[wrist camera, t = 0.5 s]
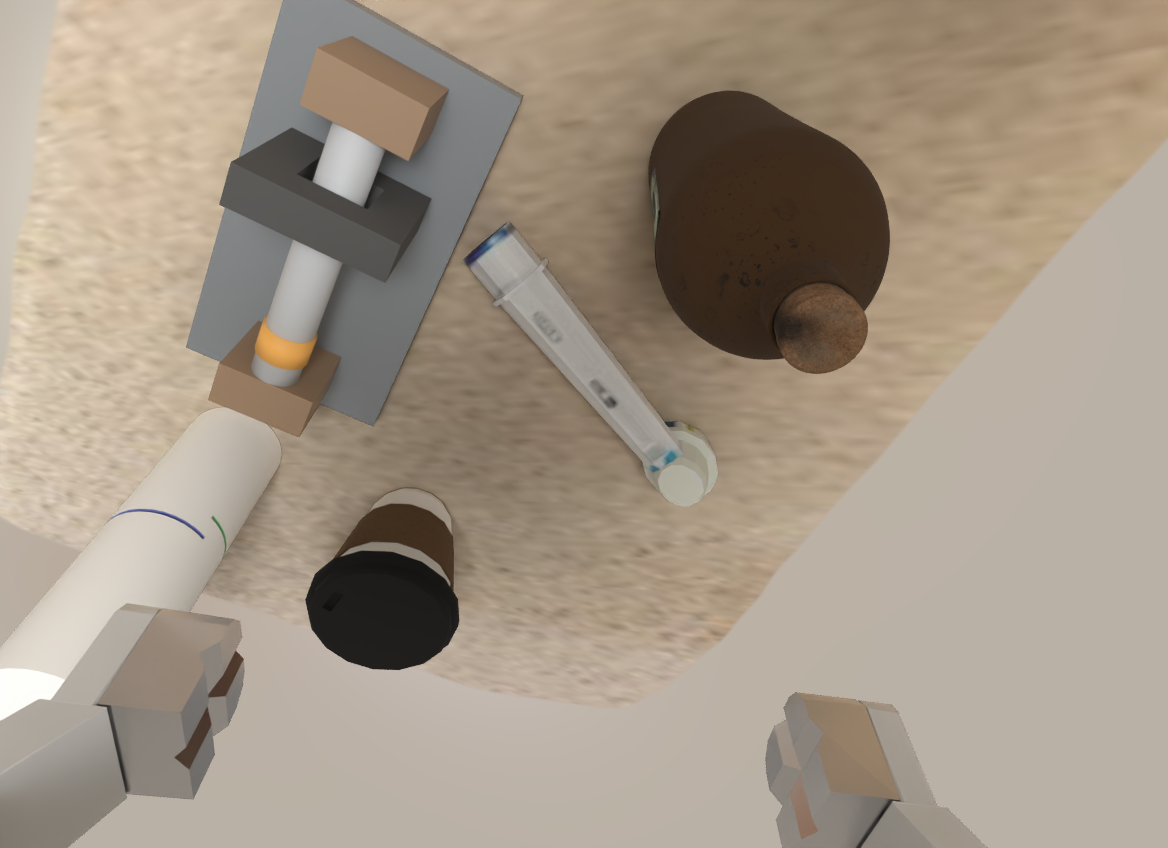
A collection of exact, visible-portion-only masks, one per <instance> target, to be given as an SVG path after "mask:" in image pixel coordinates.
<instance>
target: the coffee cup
mask: <svg viewBox="0 0 1168 848" xmlns="http://www.w3.org/2000/svg"><path fill="white" fill-rule="evenodd" d="M453 583H454V548H453V536H452V528H451V517H450V515H449V514H448V512H447V510H446V508H445V507H444V505H443V503H442V502H441V501H440V500H439V499H437V498H436V497H435V496H434V495H432V494H431V493H428V492H425V491H423V490H420V489H413V488H402V489H399V490H396V491H392V492H390V493H388V494H386V495H384V496H383V497H382V498H381V499H380V500H378V501H377V502H376V503H375V504H374V506H373V507H372V508H371V510H370V511H369V513H368V514H367V515H366V516H364V517H363V518H362V519H361V520H360V522H359V523H358V525H357V526H356V527H355V529H354V530H353V532H352V533H351V535H350V536H349V537H348V539H347V540H346V542H345V543H344V545H343V546H342V547H341V549H340V550H339V552H338V553H337V555H336V556H335V557H334V559H333V560H331V561H330V562H329V563H328V564H327V565H325V566H324V567H323V568H322V569H320V570H319V571H318V572H317V573H316V574H315V576H314V578H313V581H312V583H311V586H310V589H309V591H308V594H307V597H306V599H305V600H306V605H307V610H308V615H309V619H310V623H311V628H312V630H313V631H314V633H315V634H316V635H317V637H318V638H319V639H320V640H321V642H322V643H323V644H324V646H325V647H326V648H327V649H329V650H331V651H332V652H334V653H335V654H337V655H338V656H340V657H342V658H343V659H345V660H346V661H348V662H351V663H354V664H358V665H361V666H365V667H368V668H371V669H385V670H386V669H387V670H401V669H404V668H408V667H412V666H416V665H420V664H424V663H425V662H427V661H428V660H430V659H431V658H432V657H434V656H435V655H437V654H438V653H440V652H441V651H442V649H443V648H444V647H446V646H447V645H448V644H449V642H450V640H451V639H452V637H453V635H454V633H455V631H456V629H457V627H458V624H459V608H458V599H457V597H456V595H455V594H454V592H453Z"/></svg>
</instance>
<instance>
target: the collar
mask: <svg viewBox="0 0 1168 848" xmlns="http://www.w3.org/2000/svg"><path fill="white" fill-rule="evenodd" d="M324 146H325V144H324V143H322V142H320V141H318V140H316V139H314V138H312V137H310V136H308V135H306V134H304V133H302V132H300V131H298V130H296V129H294V128H292V127H291V128H290V129H288V130H286V131H284V132H283V133H281V134H279V135H277V136H276V137H274V138H272V139H270V140H269V141H267V142H265V143H263V144H262V145H260V146H258V147H257V148H255V149H253V150H251V151H250V152H248V153H246V154H244V155H243V156H241V157H239V158H237V159H236V160H234V161H232V162H231V164H230V167H229V171H228V175H227V178H226V182H225V186H224V189H223V193H222V197H221V200H220V204H219V205H221V206H223V207H225V208H227V209H229V210H232V211H234V212H236V213H238V214H240V215H242V216H244V217H246V218H248V219H251V220H253V221H255V222H257V223H259V224H261V225H263V226H265V227H268V228H270V229H272V230H274V231H276V232H278V233H280V234H282V235H284V236H287V237H289V238H291V239H293V240H295V241H297V242H299V243H301V244H303V245H306V246H308V247H310V248H312V249H314V250H316V251H318V252H320V253H322V254H325V255H327V256H329V257H331V258H333V259H335V260H337V261H339V262H342V263H344V264H346V265H348V266H350V267H352V268H354V269H356V270H358V271H361V272H363V273H365V274H367V275H369V276H371V277H373V278H375V279H377V280H380V281H382V282H384V283H386V281H387V279H388V278H389V276H390V275H391V273H392V271H393V270H394V268H395V267H396V265H397V263H398V262H399V260H400V259H401V257H402V256H403V254H404V252H405V251H406V249H407V248H408V246H409V244H410V243H411V241H412V240H413V238H414V236H415V235H416V233H417V232H418V229H419V227H420V225H421V222H422V220H423V218H424V215H425V213H426V210H427V208H428V206H429V203H430V201H431V198H430V197H428V196H426V195H424V194H422V193H420V192H418V191H416V190H414V189H412V188H410V187H408V186H406V185H404V184H402V183H400V182H398V181H396V180H394V179H392V178H390V177H388V176H386V175H384V174H382V173H380V172H378V171H377V174H376V176H375V179H374V182H373V184H372V187H371V190H370V192H369V195H368V197H367V200H366V203H365V205H364V207H362V206H360V205H358V204H356V203H354V202H352V201H350V200H348V199H346V198H344V197H342V196H340V195H338V194H336V193H334V192H332V191H330V190H328V189H326V188H324V187H322V186H320V185H318V184H316V183H314V182H312V181H313V179H314V176H315V173H316V170H317V167H318V164H319V161H320V158H321V155H322V152H323V149H324Z"/></svg>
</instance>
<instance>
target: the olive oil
mask: <svg viewBox="0 0 1168 848" xmlns="http://www.w3.org/2000/svg"><path fill="white" fill-rule="evenodd" d="M649 186H650V192H651V202H652V212H653V224H654V244H655V259H656V267H657V272H658V276H659V279H660V282H661V285H662V288H663V290H664V293H665V295H666V297H667V299H668V301H669V303H670V305H671V306H672V308H673V309H674V311H675V312H676V314H677V315H678V316H679V318H680V319H681V320H682V321H683V322H684V323H685V324H686V325H687V326H688V327H689V328H690V329H691V330H692V331H693V332H694V333H696V334H697V335H698V336H700V337H701V338H702V339H704V340H705V341H707V342H708V343H710V344H712V345H713V346H715V347H717V348H719V349H721V350H723V351H726V352H728V353H731V354H734V355H737V356H741V357H746V358H751V359H762V360H771V359H783V358H785V360H786V361H787V362H788V363H789V364H790V365H792V366H793V367H794V368H796V369H798V370H800V371H803V372H806V373H812V374H821V373H827V372H831V371H834V370H837V369H839V368H841V367H843V366H845V365H846V364H848V363H849V362H850V361H851V360H853V359H854V358H855V357H856V355H857V354H858V353H859V352H860V350H861V349H862V347H863V345H864V343H865V340H866V337H867V332H868V323H867V318H866V315H865V313H864V311H865V310H866V308H867V307H868V305H869V304H870V302H871V301H872V299H873V298H874V296H875V294H876V292H877V290H878V288H879V286H880V284H881V281H882V279H883V276H884V273H885V269H886V265H887V261H888V255H889V246H890V231H889V221H888V214H887V209H886V205H885V201H884V198H883V195H882V193H881V190H880V188H879V186H878V184H877V182H876V180H875V178H874V176H873V175H872V173H871V172H870V170H869V169H868V168H867V166H866V165H865V164H864V163H863V162H862V160H861V159H860V158H859V157H858V156H857V155H856V154H855V153H854V152H852V151H851V150H850V149H849V148H847V147H846V146H845V145H843V144H842V143H840V142H839V141H837V140H835V139H834V138H832V137H830V136H828V135H826V134H824V133H822V132H820V131H818V130H816V129H814V128H812V127H810V126H808V125H806V124H804V123H802V122H800V121H799V120H797V119H795V118H793V117H791V116H789V115H788V114H786V113H784V112H782V111H781V110H779V109H778V108H776V107H775V106H773V105H771V104H770V103H768V102H767V101H765V100H763V99H761V98H759V97H757V96H754V95H752V94H748V93H744V92H739V91H721V92H715V93H711V94H707V95H704V96H702V97H699V98H697V99H695V100H693V101H691V102H690V103H688V104H686V105H685V106H684V107H682V108H681V109H680V110H679V111H677V112H676V113H675V114H674V115H673V116H672V117H671V118H670V119H669V121H668V122H667V123H666V124H665V126H664V127H663V129H662V130H661V132H660V134H659V135H658V137H657V140H656V142H655V144H654V147H653V150H652V153H651V157H650V163H649Z"/></svg>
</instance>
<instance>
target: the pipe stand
mask: <svg viewBox="0 0 1168 848" xmlns="http://www.w3.org/2000/svg"><path fill="white" fill-rule="evenodd" d="M522 98H523V95H521V94H520V93H518V92H516V91H514V90H513V89H511V88H509V87H507V86H505V85H504V84H502V83H500V82H498V81H497V80H495V79H493V78H491V77H489V76H488V75H486V74H484V73H482V72H481V71H479V70H477V69H475V68H473V67H472V66H470V65H468V64H466V63H465V62H463V61H461V60H459V59H457V58H456V57H454V56H452V55H450V54H449V53H447V52H445V51H443V50H441V49H440V48H438V47H436V46H434V45H433V44H431V43H429V42H427V41H425V40H424V39H422V38H420V37H418V36H417V35H415V34H413V33H411V32H409V31H408V30H406V29H404V28H402V27H401V26H399V25H397V24H395V23H393V22H392V21H390V20H388V19H386V18H385V17H383V16H381V15H379V14H377V13H376V12H374V11H372V10H370V9H369V8H367V7H365V6H363V5H361V4H360V3H358V2H356V1H354V0H283V2H282V6H281V9H280V13H279V16H278V20H277V23H276V27H275V31H274V34H273V38H272V41H271V45H270V48H269V52H268V56H267V59H266V63H265V66H264V70H263V74H262V77H261V81H260V84H259V88H258V91H257V95H256V99H255V102H254V106H253V109H252V113H251V116H250V120H249V124H248V127H247V131H246V134H245V138H244V142H243V145H242V149H241V152H240V156H239V157H241V156H243V155H244V154H246V153H248V152H250V151H251V150H253V149H255V148H257V147H258V146H260V145H262V144H263V143H265V142H267V141H269V140H270V139H272V138H274V137H276V136H277V135H279V134H281V133H283V132H284V131H286V130H288V129H290V128H291V127H292V128H294V129H296V130H298V131H300V132H302V133H304V134H306V135H308V136H310V137H312V138H314V139H316V140H318V141H320V142H322V143H324V144H325V146H324V149H323V152H322V155H321V158H320V161H319V164H318V167H317V170H316V173H315V176H314V179H313V181H312V182H314V183H316V184H318V185H320V186H322V187H324V188H326V189H328V190H330V191H332V192H334V193H336V194H338V195H340V196H342V197H344V198H346V199H348V200H350V201H352V202H354V203H356V204H358V205H360V206H362V207H364V205H365V203H366V200H367V197H368V195H369V192H370V190H371V187H372V184H373V182H374V179H375V176H376V174H377V171H378V172H380V173H382V174H384V175H386V176H388V177H390V178H392V179H394V180H396V181H398V182H400V183H402V184H404V185H406V186H408V187H410V188H412V189H414V190H416V191H418V192H420V193H422V194H424V195H426V196H428V197H430V198H431V201H430V203H429V206H428V208H427V210H426V213H425V215H424V218H423V220H422V222H421V225H420V227H419V229H418V232H417V233H416V235H415V236H414V238H413V240H412V241H411V243H410V244H409V246H408V248H407V249H406V251H405V252H404V254H403V256H402V257H401V259H400V260H399V262H398V263H397V265H396V267H395V268H394V270H393V271H392V273H391V275H390V276H389V278H388V279H387V281H386V283H384V282H382V281H380V280H377V279H375V278H373V277H371V276H369V275H367V274H365V273H363V272H361V271H358V270H356V269H354V268H352V267H350V266H348V265H346V264H344V263H342V262H339V261H337V260H335V259H333V258H331V257H329V256H327V255H325V254H322V253H320V252H318V251H316V250H314V249H312V248H310V247H308V246H306V245H303V244H301V243H299V242H297V241H295V240H293V239H291V238H289V237H287V236H284V235H282V234H280V233H278V232H276V231H274V230H272V229H270V228H268V227H265V226H263V225H261V224H259V223H257V222H255V221H253V220H251V219H248V218H246V217H244V216H242V215H240V214H238V213H236V212H234V211H232V210H229V209H227V208H225V209H224V213H223V217H222V220H221V224H220V227H219V231H218V235H217V238H216V242H215V245H214V249H213V252H212V256H211V260H210V263H209V267H208V270H207V274H206V277H205V281H204V285H203V288H202V292H201V295H200V299H199V303H198V306H197V310H196V313H195V317H194V320H193V324H192V328H191V331H190V335H189V338H188V342H187V345H186V348H189V349H191V350H194V351H196V352H198V353H201V354H203V355H205V356H208V357H210V358H212V359H215V360H217V361H220V363H219V366H218V369H217V373H216V376H215V379H214V382H213V385H212V389H211V392H210V395H209V398H208V400H209V401H212V402H214V403H217V404H219V405H221V406H224V407H226V408H229V409H231V410H234V411H236V412H239V413H241V414H243V415H246V416H248V417H251V418H253V419H256V420H258V421H261V422H263V423H265V424H268V425H270V426H273V427H275V428H278V429H280V430H283V431H285V432H287V433H290V434H292V435H295V436H297V437H300V435H301V433H302V432H303V430H304V429H305V427H306V425H307V424H308V422H309V420H310V419H311V417H312V415H313V414H314V412H315V410H316V409H317V407H318V405H319V404H321V405H324V406H326V407H328V408H331V409H333V410H335V411H338V412H340V413H343V414H345V415H347V416H350V417H352V418H354V419H357V420H359V421H361V422H364V423H366V424H369V425H371V426H374V424H375V422H376V419H377V417H378V415H379V413H380V411H381V408H382V406H383V404H384V402H385V400H386V397H387V395H388V393H389V391H390V389H391V386H392V384H393V382H394V380H395V378H396V375H397V373H398V371H399V369H400V367H401V364H402V362H403V360H404V358H405V355H406V353H407V351H408V349H409V347H410V344H411V342H412V340H413V338H414V336H415V333H416V331H417V329H418V327H419V325H420V322H421V320H422V318H423V316H424V314H425V311H426V309H427V307H428V305H429V303H430V300H431V298H432V296H433V294H434V292H435V289H436V287H437V285H438V283H439V281H440V278H441V276H442V274H443V272H444V269H445V267H446V265H447V263H448V261H449V258H450V256H451V254H452V252H453V250H454V247H455V245H456V243H457V241H458V239H459V236H460V234H461V232H462V230H463V228H464V225H465V223H466V221H467V219H468V217H469V214H470V212H471V210H472V208H473V206H474V203H475V201H476V199H477V197H478V195H479V192H480V190H481V188H482V186H483V183H484V181H485V179H486V177H487V175H488V172H489V170H490V168H491V166H492V164H493V161H494V159H495V157H496V155H497V153H498V150H499V148H500V146H501V144H502V142H503V139H504V137H505V135H506V133H507V131H508V128H509V126H510V124H511V122H512V120H513V117H514V115H515V113H516V111H517V109H518V106H519V104H520V102H521V100H522Z"/></svg>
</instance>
